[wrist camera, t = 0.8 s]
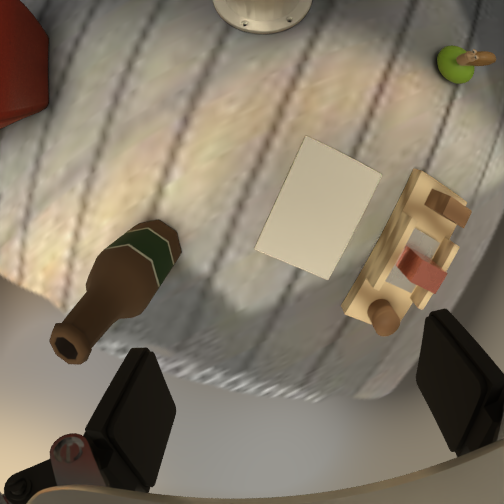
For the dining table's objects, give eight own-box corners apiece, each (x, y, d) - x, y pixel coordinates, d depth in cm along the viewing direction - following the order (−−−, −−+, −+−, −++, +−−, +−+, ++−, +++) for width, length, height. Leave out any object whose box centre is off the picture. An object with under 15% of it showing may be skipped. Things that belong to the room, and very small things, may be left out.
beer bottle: (194, 253, 43) (129, 372, 20) (152, 280, 44) (73, 396, 22) (161, 206, 41) (58, 287, 18) (120, 236, 42) (13, 327, 20)
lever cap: (410, 225, 38) (431, 240, 32) (436, 240, 38) (458, 256, 32) (381, 277, 40) (397, 298, 34) (408, 289, 41) (426, 311, 35)
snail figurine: (419, 51, 31) (466, 30, 20) (453, 49, 31) (502, 32, 19) (431, 88, 33) (482, 78, 22) (465, 83, 32) (517, 76, 21)
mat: (305, 135, 37) (306, 135, 36) (380, 174, 38) (382, 174, 37) (254, 248, 42) (254, 249, 42) (327, 278, 43) (327, 279, 43)
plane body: (413, 168, 37) (440, 176, 30) (458, 198, 38) (487, 211, 31) (340, 305, 45) (352, 334, 38) (387, 323, 46) (403, 351, 39)
